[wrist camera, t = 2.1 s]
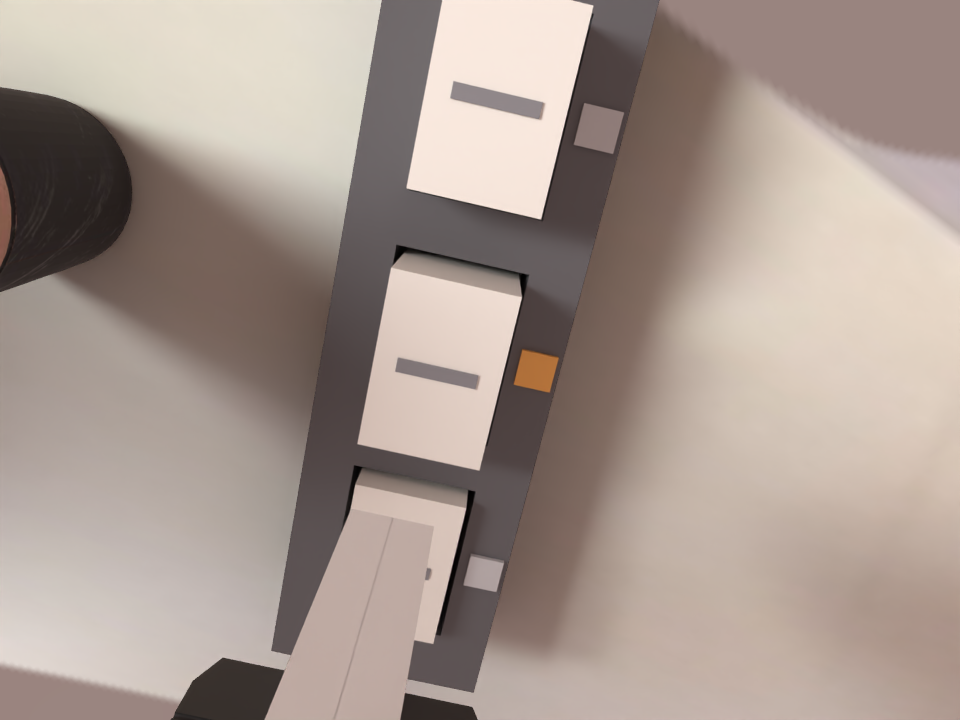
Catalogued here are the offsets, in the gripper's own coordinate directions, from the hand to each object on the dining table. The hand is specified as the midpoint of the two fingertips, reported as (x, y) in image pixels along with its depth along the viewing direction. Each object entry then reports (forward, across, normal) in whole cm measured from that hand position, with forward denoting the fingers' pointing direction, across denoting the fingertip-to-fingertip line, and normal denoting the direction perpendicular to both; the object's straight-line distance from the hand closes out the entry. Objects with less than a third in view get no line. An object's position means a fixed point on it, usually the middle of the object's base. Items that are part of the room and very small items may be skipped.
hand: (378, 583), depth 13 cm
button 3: (+17, 0, +9) cm, 20 cm away
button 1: (+20, 0, -9) cm, 21 cm away
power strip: (+21, 0, +3) cm, 21 cm away
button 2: (+17, 0, 0) cm, 17 cm away
